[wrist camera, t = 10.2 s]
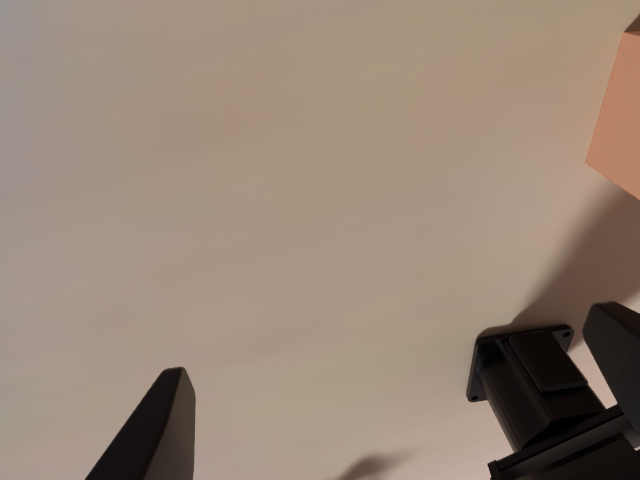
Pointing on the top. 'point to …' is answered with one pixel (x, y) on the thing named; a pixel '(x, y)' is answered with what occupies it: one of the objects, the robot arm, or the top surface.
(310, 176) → the top surface
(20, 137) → the top surface
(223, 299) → the top surface
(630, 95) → the terracotta brick
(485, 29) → the top surface
